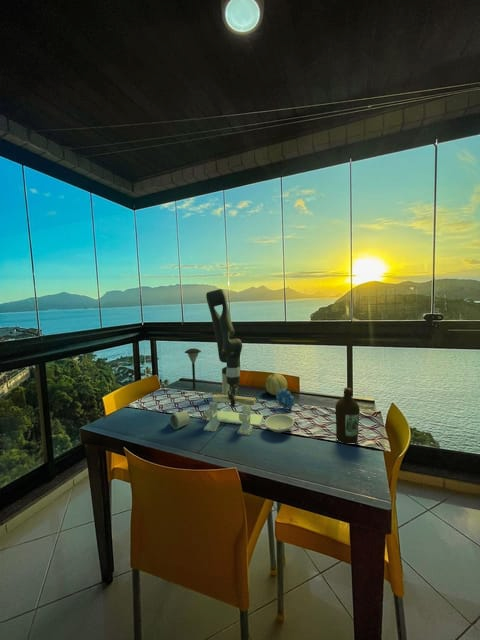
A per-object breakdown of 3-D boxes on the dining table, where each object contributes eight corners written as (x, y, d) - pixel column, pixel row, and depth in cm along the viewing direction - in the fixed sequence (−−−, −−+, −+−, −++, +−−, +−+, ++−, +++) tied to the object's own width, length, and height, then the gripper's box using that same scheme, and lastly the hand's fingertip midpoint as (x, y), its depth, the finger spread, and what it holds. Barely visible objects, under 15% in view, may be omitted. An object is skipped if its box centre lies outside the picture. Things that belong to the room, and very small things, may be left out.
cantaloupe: (291, 394, 194) (291, 372, 192) (279, 400, 183) (278, 377, 181) (273, 389, 204) (273, 369, 202) (261, 395, 193) (260, 373, 191)
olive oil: (330, 435, 137) (331, 386, 135) (349, 433, 139) (350, 384, 137) (343, 447, 127) (344, 393, 124) (363, 444, 129) (365, 391, 127)
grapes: (273, 409, 169) (273, 390, 168) (277, 405, 175) (277, 386, 174) (292, 413, 163) (292, 393, 162) (295, 408, 169) (295, 389, 168)
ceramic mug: (191, 425, 151) (190, 411, 151) (178, 431, 145) (177, 416, 144) (179, 419, 158) (178, 406, 158) (166, 425, 152) (165, 411, 151)
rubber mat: (213, 411, 168) (213, 410, 168) (263, 416, 160) (263, 415, 160) (206, 420, 156) (206, 419, 156) (259, 425, 149) (259, 424, 149)
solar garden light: (183, 392, 202) (181, 351, 199) (189, 386, 214) (187, 347, 211) (199, 392, 200) (198, 351, 197) (204, 387, 212) (203, 347, 209)
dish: (285, 442, 132) (285, 432, 131) (258, 434, 140) (258, 425, 139) (299, 427, 147) (299, 417, 146) (274, 420, 154) (273, 412, 154)
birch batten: (214, 399, 162) (214, 394, 162) (255, 403, 155) (255, 397, 155) (212, 401, 159) (212, 396, 159) (254, 405, 153) (253, 399, 152)
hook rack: (209, 422, 153) (208, 401, 152) (252, 427, 147) (252, 405, 146) (203, 430, 145) (202, 408, 144) (249, 435, 139) (248, 412, 138)
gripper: (230, 370, 164) (231, 399, 165) (222, 377, 150) (223, 409, 152) (242, 371, 162) (243, 400, 163) (236, 378, 148) (236, 410, 150)
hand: (233, 404), depth 157 cm, fingers closed on birch batten, 3 cm apart
